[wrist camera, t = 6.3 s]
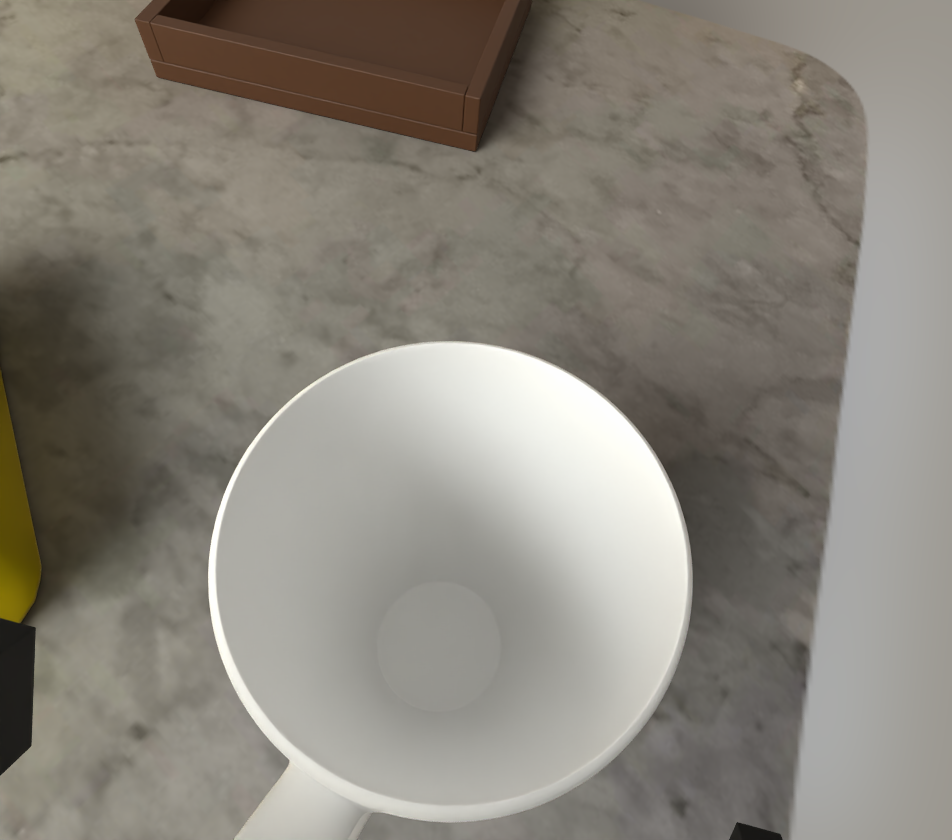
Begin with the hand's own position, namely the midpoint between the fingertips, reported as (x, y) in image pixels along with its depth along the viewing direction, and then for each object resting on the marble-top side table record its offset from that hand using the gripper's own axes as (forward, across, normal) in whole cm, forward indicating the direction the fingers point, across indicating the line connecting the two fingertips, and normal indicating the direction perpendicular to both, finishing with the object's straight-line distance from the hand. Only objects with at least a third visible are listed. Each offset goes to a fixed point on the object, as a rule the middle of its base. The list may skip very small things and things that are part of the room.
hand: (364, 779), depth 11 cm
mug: (+8, 0, -4) cm, 9 cm away
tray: (+31, -13, +19) cm, 38 cm away
